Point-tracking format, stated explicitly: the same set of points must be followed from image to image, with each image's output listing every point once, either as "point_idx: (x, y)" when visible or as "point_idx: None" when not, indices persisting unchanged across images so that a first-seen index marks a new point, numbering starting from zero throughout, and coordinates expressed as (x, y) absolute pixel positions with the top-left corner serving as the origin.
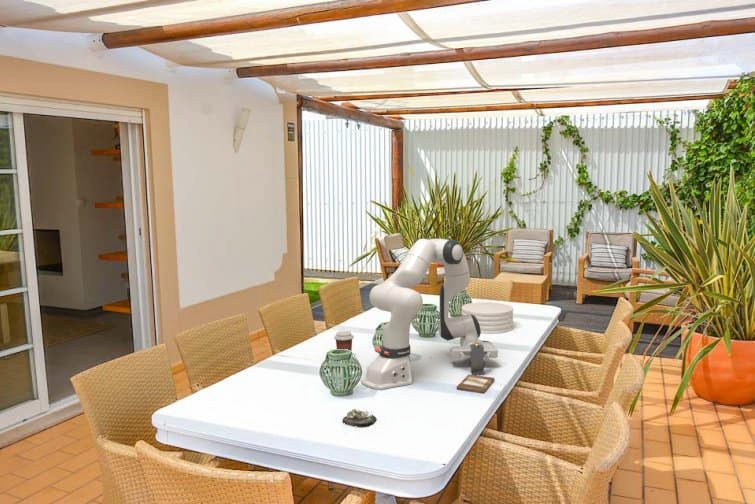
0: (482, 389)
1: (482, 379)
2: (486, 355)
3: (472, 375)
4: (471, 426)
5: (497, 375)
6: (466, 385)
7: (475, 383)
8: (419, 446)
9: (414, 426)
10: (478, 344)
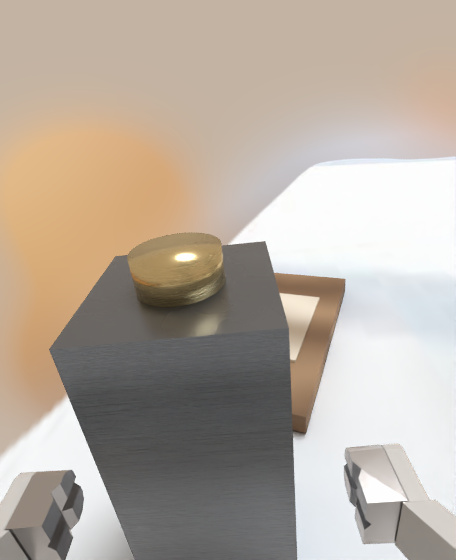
0: None
1: None
2: (53, 473)
3: None
4: (277, 198)
5: None
6: (302, 290)
7: None
8: (353, 171)
9: (387, 186)
10: (164, 236)
